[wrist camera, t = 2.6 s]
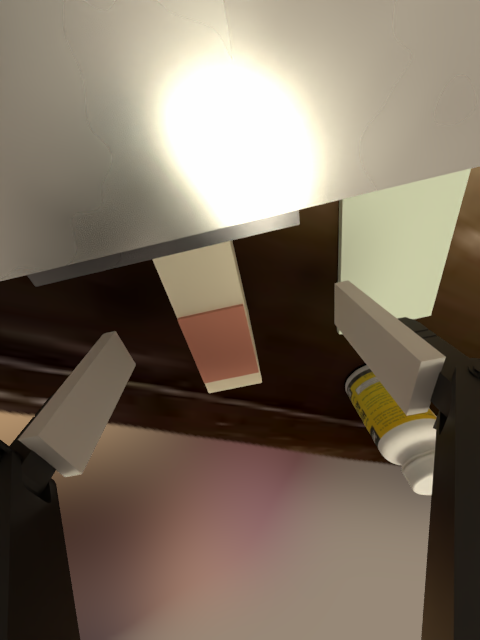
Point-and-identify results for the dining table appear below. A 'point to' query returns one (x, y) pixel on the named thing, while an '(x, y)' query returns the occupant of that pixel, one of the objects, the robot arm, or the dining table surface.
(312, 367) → the dining table surface
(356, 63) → the plate
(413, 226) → the pad
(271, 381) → the dining table surface
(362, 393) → the supplement bottle
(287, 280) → the dining table surface
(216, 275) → the cream rectangular block
